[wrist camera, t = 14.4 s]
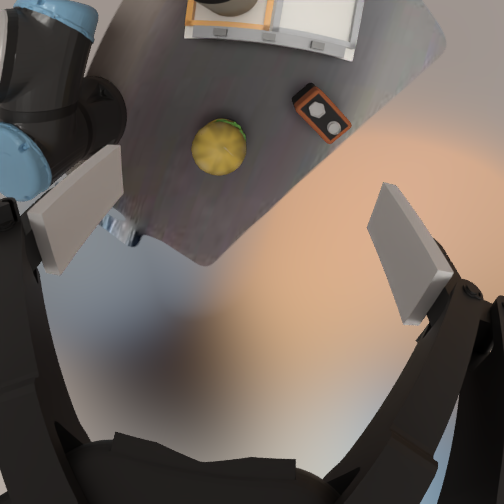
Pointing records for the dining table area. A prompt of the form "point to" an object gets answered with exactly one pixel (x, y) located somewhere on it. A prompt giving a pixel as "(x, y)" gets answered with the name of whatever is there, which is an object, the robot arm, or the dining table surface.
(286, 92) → the dining table surface
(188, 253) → the dining table surface
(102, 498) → the robot arm
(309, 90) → the battery
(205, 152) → the hamburger
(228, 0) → the travel mug
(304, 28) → the grey orange flat box
